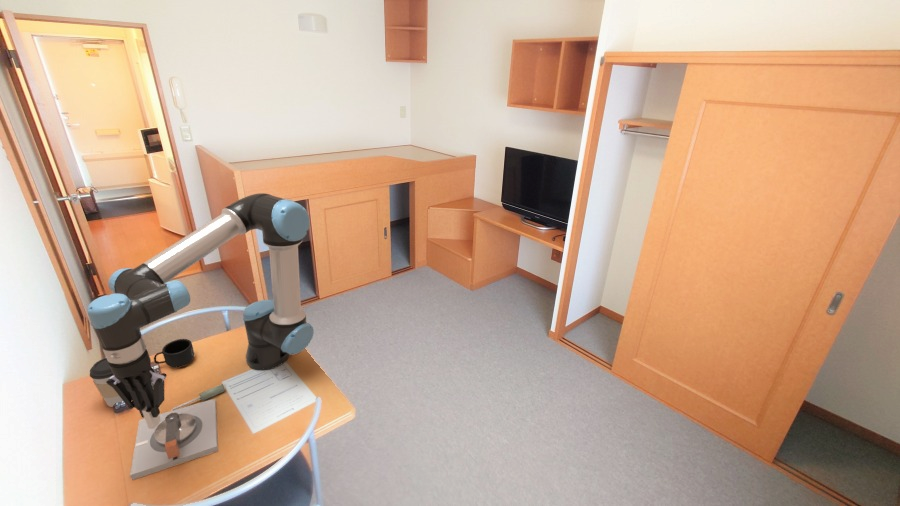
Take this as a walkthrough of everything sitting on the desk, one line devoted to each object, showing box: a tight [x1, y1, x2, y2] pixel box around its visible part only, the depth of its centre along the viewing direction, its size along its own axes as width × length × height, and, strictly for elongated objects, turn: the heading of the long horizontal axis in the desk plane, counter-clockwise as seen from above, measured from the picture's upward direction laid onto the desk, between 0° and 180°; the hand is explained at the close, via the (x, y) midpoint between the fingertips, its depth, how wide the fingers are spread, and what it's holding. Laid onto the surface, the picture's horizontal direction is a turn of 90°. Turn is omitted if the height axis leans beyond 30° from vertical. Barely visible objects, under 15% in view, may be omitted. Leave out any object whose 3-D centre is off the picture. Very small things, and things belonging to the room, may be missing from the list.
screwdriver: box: [171, 383, 226, 411], centre depth 131 cm, size 15×3×3 cm
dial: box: [154, 413, 196, 459], centre depth 114 cm, size 16×10×6 cm, turn 31°
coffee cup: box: [89, 357, 123, 408], centre depth 127 cm, size 9×9×15 cm
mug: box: [153, 338, 195, 369], centre depth 145 cm, size 12×9×7 cm
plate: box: [129, 398, 219, 481], centre depth 118 cm, size 20×20×2 cm
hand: (154, 424), depth 106 cm, fingers closed
